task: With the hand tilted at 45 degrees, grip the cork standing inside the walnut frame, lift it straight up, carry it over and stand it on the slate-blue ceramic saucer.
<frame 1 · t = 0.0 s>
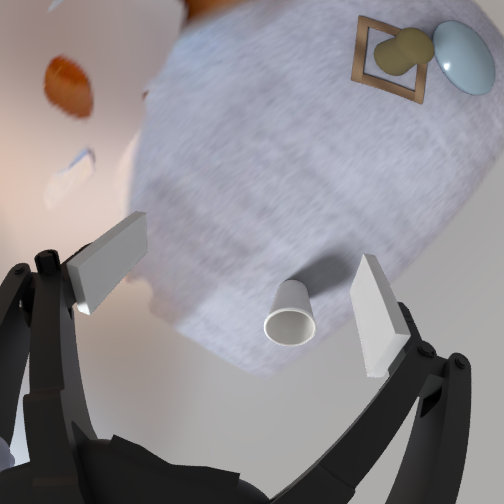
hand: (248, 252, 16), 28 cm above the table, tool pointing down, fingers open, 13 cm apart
dixie cup: (292, 291, 50), on the table
cork: (391, 58, 29), resting in walnut frame
walnut frame: (391, 58, 29), on the table
saucer: (464, 57, 25), on the table
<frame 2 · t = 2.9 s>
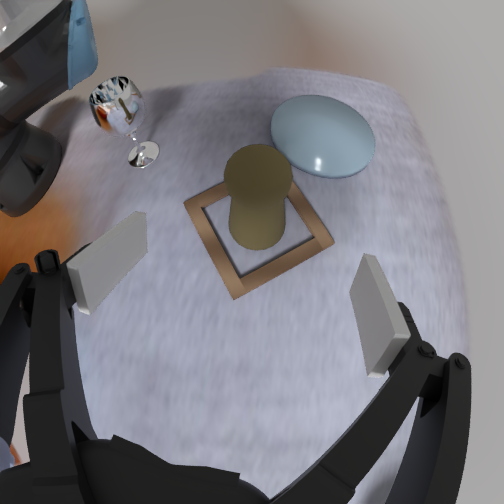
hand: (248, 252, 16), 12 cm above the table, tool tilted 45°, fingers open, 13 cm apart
cork: (257, 223, 29), resting in walnut frame
walnut frame: (257, 223, 29), on the table
wineglass: (143, 155, 32), on the table
saucer: (323, 134, 33), on the table
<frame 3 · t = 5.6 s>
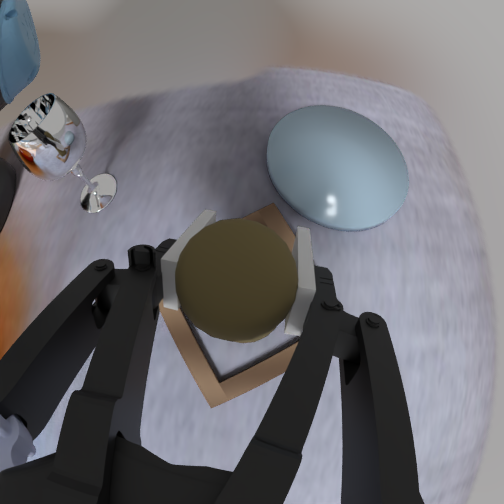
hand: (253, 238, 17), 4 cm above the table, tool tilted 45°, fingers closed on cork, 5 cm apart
cork: (244, 303, 21), resting in walnut frame, touching gripper
walnut frame: (243, 303, 20), on the table
wineglass: (98, 193, 24), on the table
saucer: (339, 163, 24), on the table
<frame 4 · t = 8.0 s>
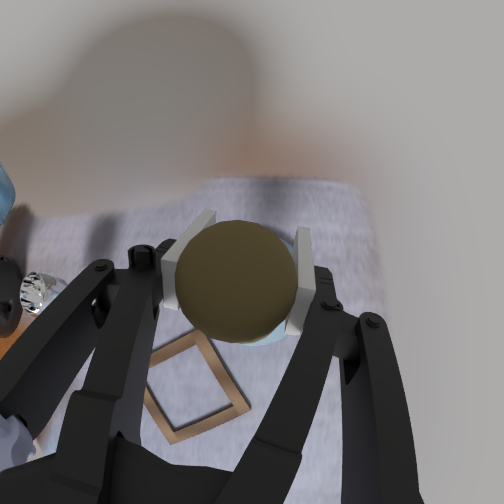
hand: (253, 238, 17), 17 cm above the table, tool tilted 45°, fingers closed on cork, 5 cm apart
cork: (243, 304, 21), point 13 cm above the table, touching gripper
walnut frame: (184, 390, 30), on the table
wineglass: (88, 307, 33), on the table
saucer: (253, 288, 34), on the table
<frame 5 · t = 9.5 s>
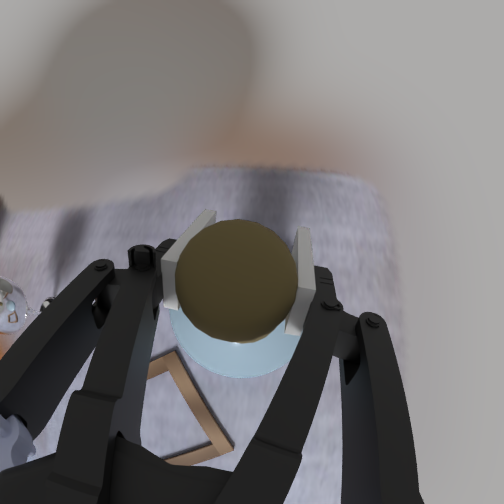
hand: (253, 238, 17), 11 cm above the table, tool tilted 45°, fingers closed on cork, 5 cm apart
cork: (243, 304, 21), point 6 cm above the table, touching gripper
walnut frame: (155, 421, 23), on the table
wineglass: (52, 315, 26), on the table
saucer: (241, 306, 26), on the table
when the fingers open (6 cm above the table, at t = 10.6 s): cork stays where it is, resting on saucer.
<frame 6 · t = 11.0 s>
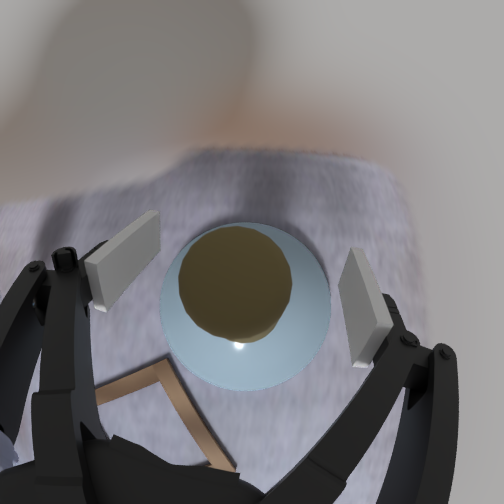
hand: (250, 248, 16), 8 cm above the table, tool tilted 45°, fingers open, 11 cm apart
cork: (243, 305, 21), point 1 cm above the table, touching saucer
walnut frame: (146, 438, 19), on the table
saucer: (244, 306, 22), on the table
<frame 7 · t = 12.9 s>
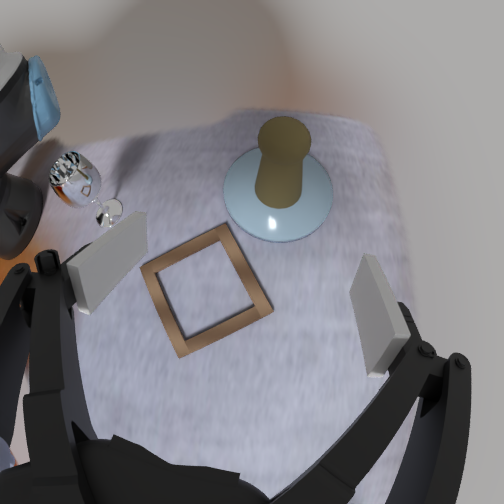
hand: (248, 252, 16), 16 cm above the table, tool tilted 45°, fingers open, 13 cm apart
cork: (278, 188, 34), point 1 cm above the table, touching saucer
walnut frame: (202, 289, 31), on the table
wineglass: (109, 213, 35), on the table
saucer: (278, 191, 35), on the table
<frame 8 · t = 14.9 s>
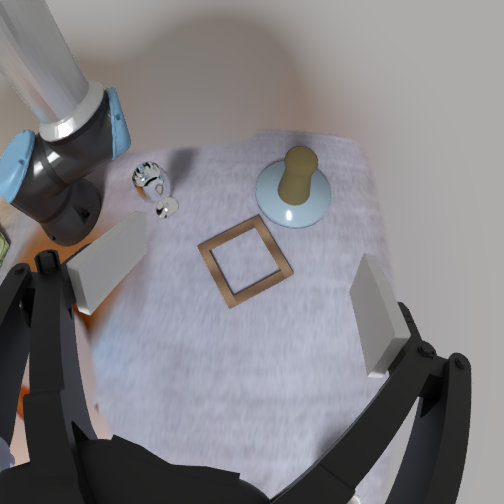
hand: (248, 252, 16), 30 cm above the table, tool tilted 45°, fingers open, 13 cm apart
dixie cup: (322, 484, 34), on the table
cork: (293, 191, 49), point 1 cm above the table, touching saucer
walnut frame: (244, 260, 46), on the table
wineglass: (167, 208, 49), on the table
saucer: (293, 193, 50), on the table
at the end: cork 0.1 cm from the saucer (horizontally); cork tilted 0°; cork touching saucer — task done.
